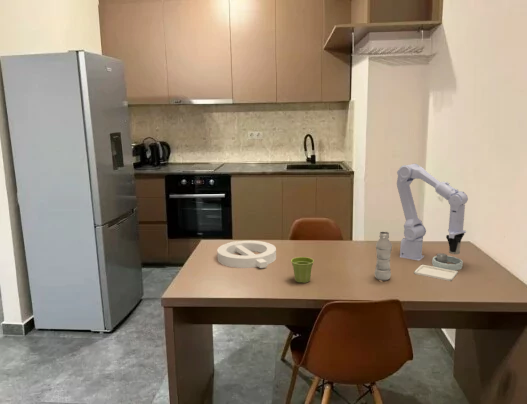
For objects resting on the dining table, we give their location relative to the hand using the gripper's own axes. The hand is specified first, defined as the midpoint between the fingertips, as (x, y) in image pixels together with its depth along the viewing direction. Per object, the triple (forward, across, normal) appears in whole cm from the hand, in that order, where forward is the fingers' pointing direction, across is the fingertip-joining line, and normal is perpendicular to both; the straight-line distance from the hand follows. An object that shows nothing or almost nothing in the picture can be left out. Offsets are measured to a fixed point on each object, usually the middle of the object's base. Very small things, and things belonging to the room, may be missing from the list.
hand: (454, 250), depth 192 cm
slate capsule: (+8, 0, +5) cm, 9 cm away
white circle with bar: (+9, -39, +84) cm, 94 cm away
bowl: (+8, 0, +2) cm, 8 cm away
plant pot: (+8, -49, +48) cm, 69 cm away
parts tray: (+8, -12, +4) cm, 15 cm away
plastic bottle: (+8, -30, +20) cm, 37 cm away
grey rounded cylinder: (+1, 0, 0) cm, 1 cm away
